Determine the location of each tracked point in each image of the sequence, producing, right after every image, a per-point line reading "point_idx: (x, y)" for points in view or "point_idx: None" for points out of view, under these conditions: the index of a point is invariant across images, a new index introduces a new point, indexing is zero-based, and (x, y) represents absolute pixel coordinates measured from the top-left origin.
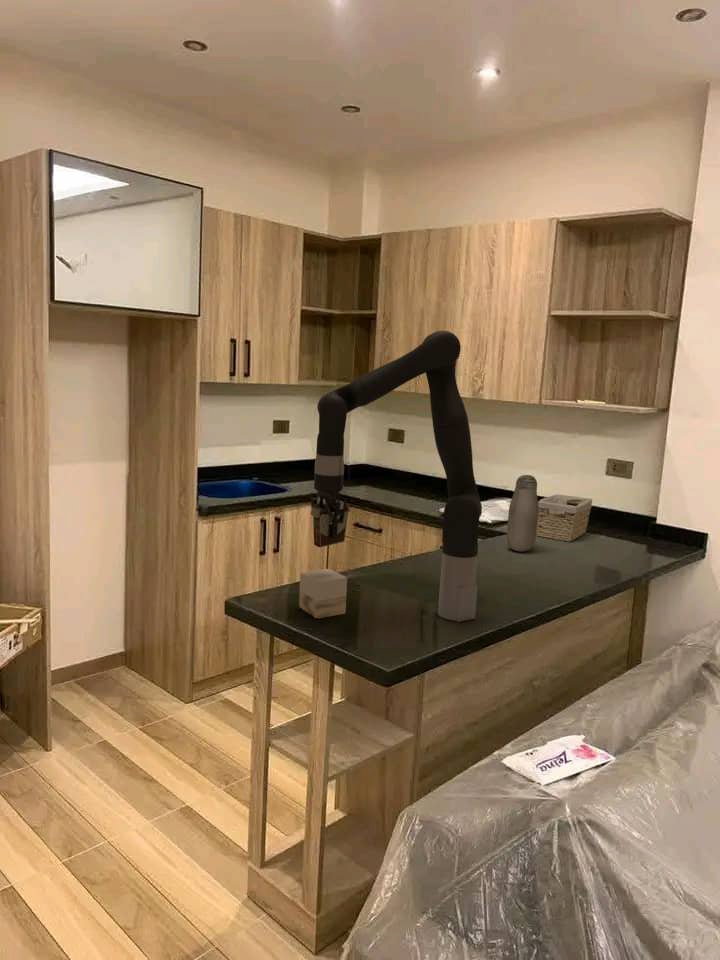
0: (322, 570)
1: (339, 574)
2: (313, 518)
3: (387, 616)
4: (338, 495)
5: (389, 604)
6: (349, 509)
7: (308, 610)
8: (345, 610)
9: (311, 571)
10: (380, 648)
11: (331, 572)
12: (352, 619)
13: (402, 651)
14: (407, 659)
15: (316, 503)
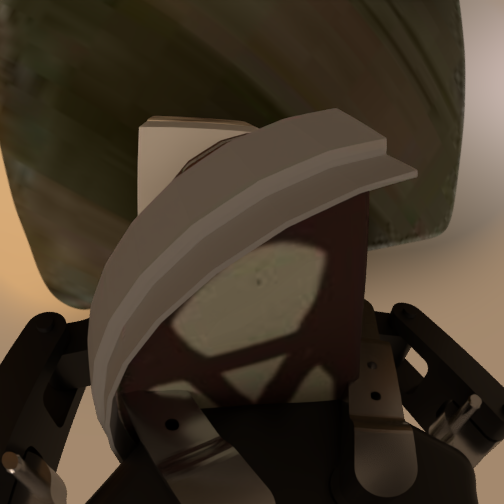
0: (147, 162)
1: (222, 133)
2: None
3: (319, 52)
4: (476, 502)
5: None
6: (357, 125)
7: None
8: (245, 122)
9: (140, 205)
10: (411, 192)
11: (185, 146)
12: None
13: (436, 171)
14: (451, 187)
15: (45, 440)
